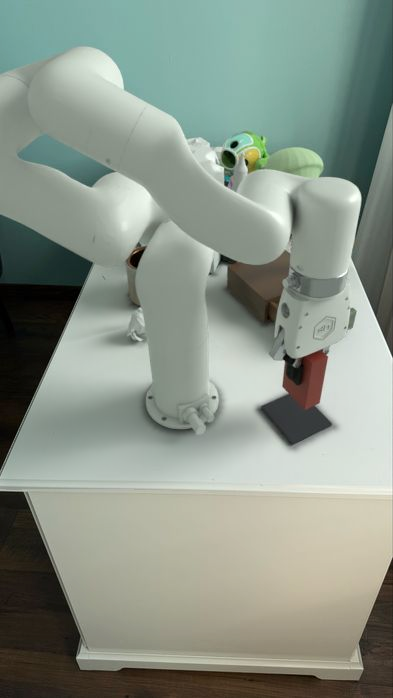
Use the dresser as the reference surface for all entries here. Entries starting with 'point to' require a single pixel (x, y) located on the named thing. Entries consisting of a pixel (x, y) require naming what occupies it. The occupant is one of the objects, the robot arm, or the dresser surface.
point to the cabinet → (258, 284)
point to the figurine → (136, 324)
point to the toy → (296, 162)
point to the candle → (238, 176)
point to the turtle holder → (244, 151)
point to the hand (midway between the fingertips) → (303, 374)
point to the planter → (133, 271)
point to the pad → (295, 418)
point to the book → (308, 380)
